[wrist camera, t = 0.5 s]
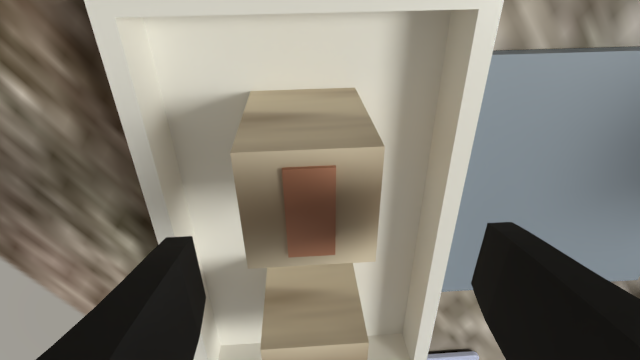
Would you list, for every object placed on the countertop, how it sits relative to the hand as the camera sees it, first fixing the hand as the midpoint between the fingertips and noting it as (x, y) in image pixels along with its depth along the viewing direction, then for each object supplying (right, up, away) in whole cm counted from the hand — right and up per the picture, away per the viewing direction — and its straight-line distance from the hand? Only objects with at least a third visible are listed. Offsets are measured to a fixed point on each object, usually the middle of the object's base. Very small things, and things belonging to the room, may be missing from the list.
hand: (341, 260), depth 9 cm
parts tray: (-1, 0, +11) cm, 11 cm away
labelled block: (-1, +4, +8) cm, 9 cm away
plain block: (-1, -4, +12) cm, 13 cm away
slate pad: (+13, +2, +11) cm, 17 cm away
